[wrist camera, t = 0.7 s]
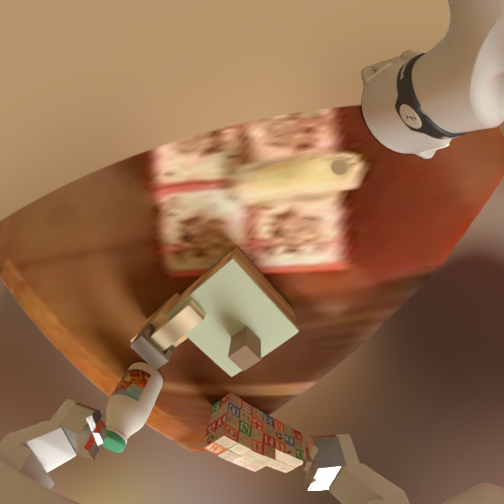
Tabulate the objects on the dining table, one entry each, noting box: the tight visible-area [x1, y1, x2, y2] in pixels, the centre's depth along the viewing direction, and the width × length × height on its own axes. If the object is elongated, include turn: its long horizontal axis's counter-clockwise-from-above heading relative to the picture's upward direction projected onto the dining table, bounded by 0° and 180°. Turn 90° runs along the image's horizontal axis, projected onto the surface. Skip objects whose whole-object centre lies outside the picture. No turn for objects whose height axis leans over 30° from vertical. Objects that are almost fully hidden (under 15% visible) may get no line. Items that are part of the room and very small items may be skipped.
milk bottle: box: [101, 362, 163, 453], centre depth 41 cm, size 8×8×20 cm
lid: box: [166, 257, 299, 377], centre depth 36 cm, size 13×14×6 cm
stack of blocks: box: [204, 392, 304, 473], centre depth 47 cm, size 21×6×12 cm, turn 48°
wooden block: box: [149, 300, 206, 352], centre depth 37 cm, size 9×3×2 cm, turn 131°
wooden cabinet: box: [130, 246, 298, 370], centre depth 41 cm, size 22×15×12 cm
